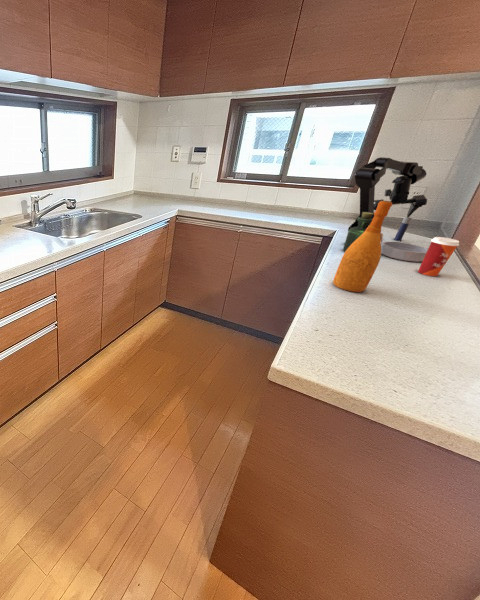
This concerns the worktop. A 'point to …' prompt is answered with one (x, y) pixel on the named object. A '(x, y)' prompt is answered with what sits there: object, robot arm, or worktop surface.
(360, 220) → the potion bottle
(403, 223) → the rod
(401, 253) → the dish
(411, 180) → the robot arm
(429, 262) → the paper cup
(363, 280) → the wine bottle
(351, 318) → the worktop surface
